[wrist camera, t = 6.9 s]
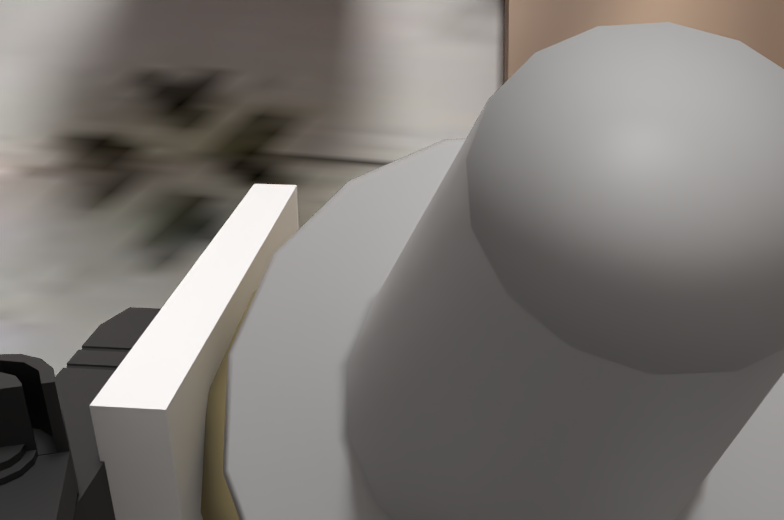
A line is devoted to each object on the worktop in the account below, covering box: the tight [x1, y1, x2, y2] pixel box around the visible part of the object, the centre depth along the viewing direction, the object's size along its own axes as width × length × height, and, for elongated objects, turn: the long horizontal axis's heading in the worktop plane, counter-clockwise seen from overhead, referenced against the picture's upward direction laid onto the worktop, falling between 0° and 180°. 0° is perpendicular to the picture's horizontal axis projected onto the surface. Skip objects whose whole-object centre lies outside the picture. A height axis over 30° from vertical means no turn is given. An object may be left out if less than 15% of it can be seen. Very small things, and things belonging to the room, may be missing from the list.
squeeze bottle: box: [201, 22, 784, 520], centre depth 11 cm, size 8×8×18 cm
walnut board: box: [504, 0, 784, 83], centre depth 22 cm, size 14×14×2 cm
